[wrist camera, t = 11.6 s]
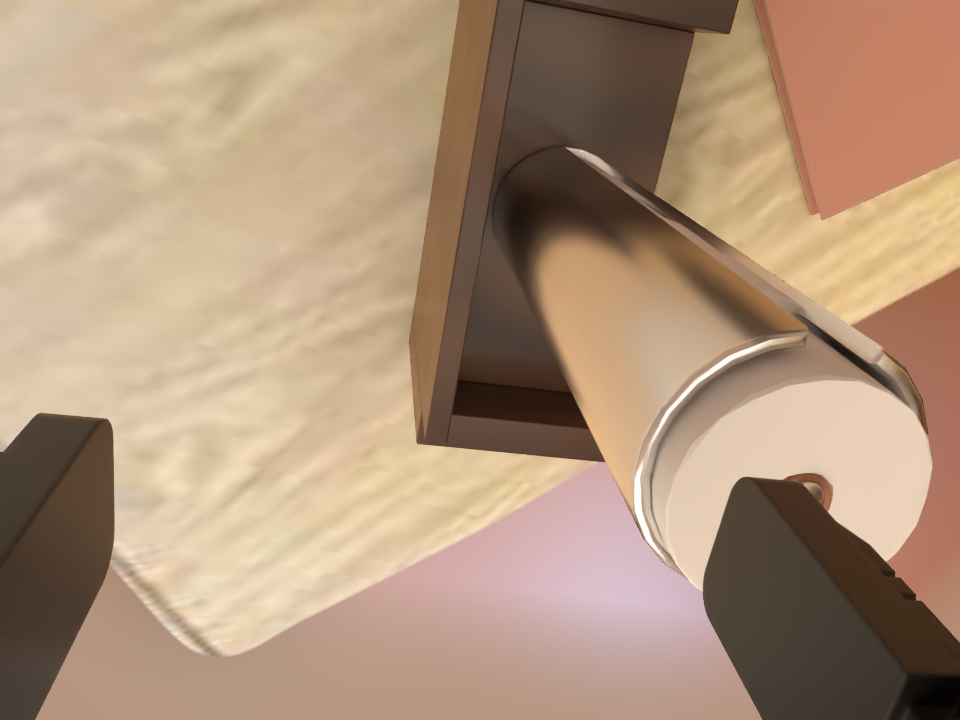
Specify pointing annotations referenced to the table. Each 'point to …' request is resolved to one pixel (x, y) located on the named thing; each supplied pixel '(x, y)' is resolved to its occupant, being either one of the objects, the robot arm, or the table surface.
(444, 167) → the shelf
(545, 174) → the beige cylinder
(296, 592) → the table surface
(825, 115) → the notebook
